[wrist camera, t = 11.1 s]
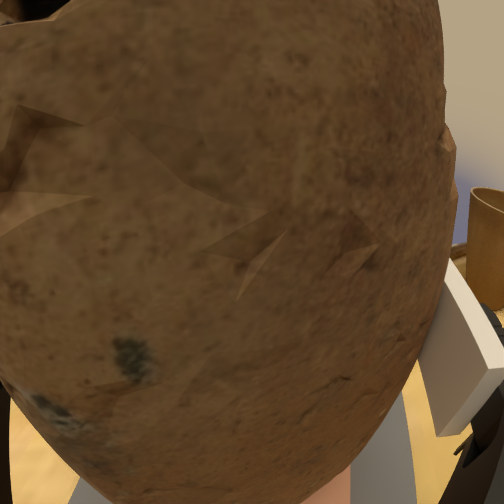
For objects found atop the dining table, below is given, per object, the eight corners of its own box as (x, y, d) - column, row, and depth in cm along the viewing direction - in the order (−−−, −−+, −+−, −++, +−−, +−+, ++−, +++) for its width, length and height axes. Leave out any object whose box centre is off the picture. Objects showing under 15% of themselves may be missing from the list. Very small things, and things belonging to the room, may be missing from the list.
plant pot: (489, 271, 47) (513, 190, 39) (533, 320, 34) (571, 228, 26) (429, 274, 47) (452, 181, 39) (473, 333, 34) (517, 223, 26)
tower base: (395, 393, 27) (413, 356, 25) (404, 639, 5) (440, 643, 2) (144, 367, 31) (132, 329, 28) (46, 581, 8) (5, 570, 6)
